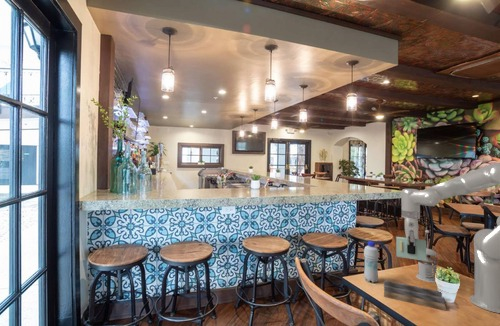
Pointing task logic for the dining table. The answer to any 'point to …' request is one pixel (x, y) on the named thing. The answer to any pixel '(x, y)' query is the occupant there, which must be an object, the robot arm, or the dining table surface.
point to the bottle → (371, 262)
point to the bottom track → (414, 295)
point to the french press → (427, 266)
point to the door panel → (419, 249)
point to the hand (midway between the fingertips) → (411, 252)
